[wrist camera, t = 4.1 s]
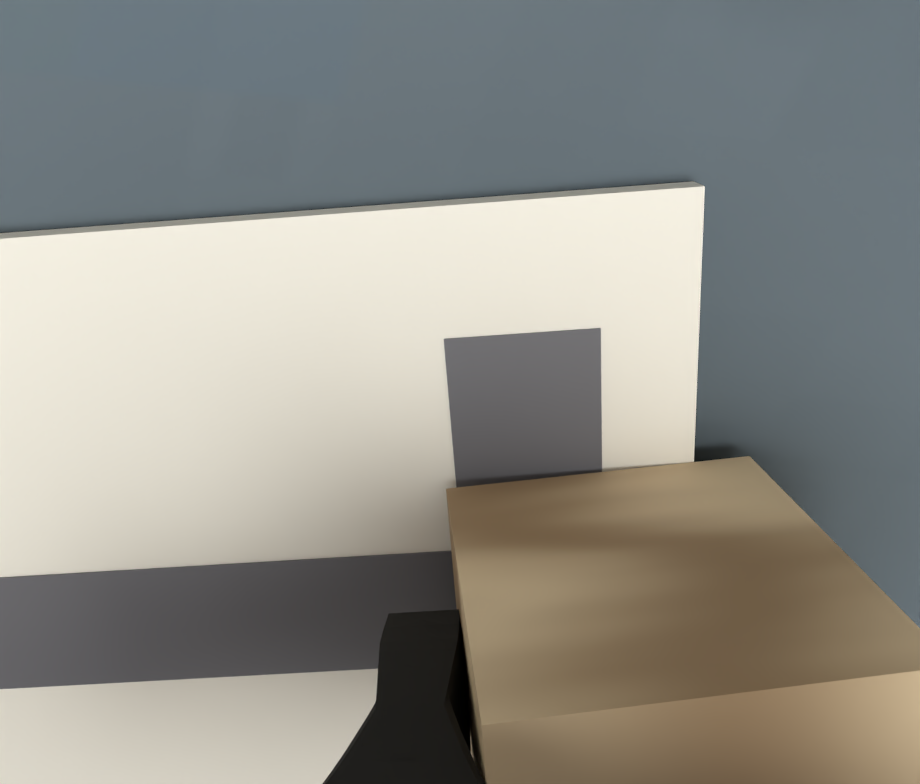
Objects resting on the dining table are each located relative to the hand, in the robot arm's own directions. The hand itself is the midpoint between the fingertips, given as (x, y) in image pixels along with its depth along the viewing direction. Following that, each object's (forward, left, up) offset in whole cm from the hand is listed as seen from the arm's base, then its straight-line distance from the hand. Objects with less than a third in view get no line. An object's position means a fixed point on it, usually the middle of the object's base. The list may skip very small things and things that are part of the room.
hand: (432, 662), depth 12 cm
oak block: (+3, 0, -1) cm, 3 cm away
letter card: (-3, 0, -2) cm, 3 cm away
